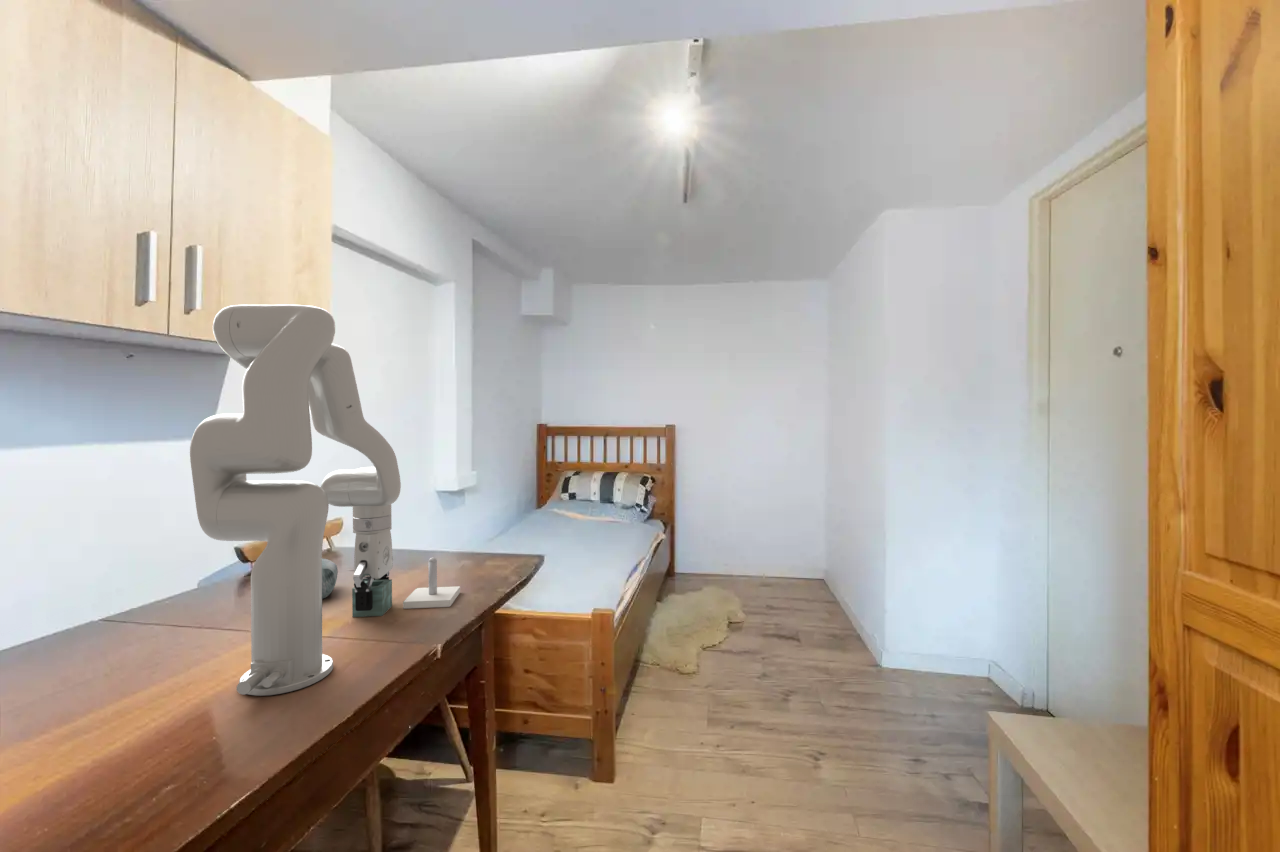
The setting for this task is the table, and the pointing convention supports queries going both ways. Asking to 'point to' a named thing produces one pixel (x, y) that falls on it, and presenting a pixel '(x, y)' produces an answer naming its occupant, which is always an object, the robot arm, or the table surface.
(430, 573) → the white peg stand
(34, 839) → the table surface
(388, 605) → the bead
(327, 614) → the table surface
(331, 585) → the spool
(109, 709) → the table surface
